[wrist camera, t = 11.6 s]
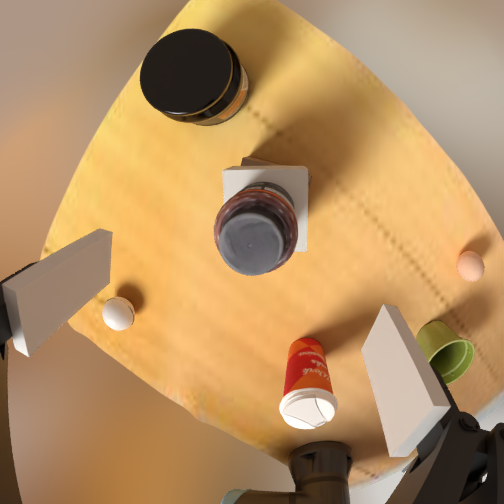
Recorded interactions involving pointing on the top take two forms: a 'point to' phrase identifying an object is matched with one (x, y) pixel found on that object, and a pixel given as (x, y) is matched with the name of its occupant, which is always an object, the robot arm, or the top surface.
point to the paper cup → (307, 386)
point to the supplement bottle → (257, 229)
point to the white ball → (118, 313)
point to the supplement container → (194, 78)
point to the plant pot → (445, 350)
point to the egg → (470, 266)
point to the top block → (284, 176)
